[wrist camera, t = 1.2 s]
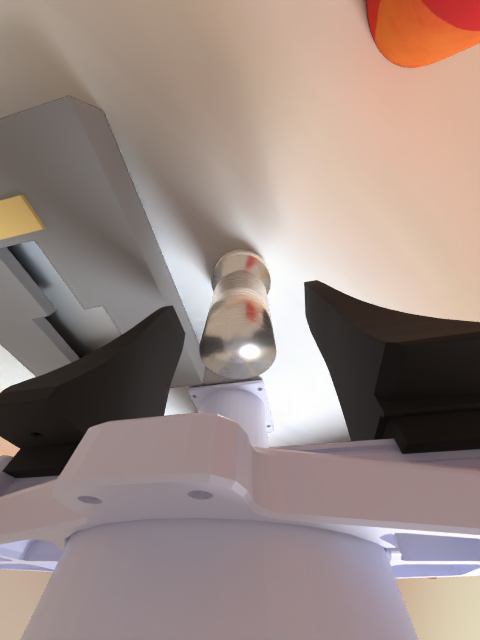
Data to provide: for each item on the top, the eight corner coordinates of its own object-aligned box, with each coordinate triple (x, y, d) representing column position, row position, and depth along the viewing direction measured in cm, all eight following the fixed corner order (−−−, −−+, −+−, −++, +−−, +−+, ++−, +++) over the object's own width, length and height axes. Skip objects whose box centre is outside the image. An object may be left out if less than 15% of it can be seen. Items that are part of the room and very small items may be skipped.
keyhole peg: (272, 296, 16) (289, 379, 10) (221, 304, 17) (205, 389, 10) (264, 243, 14) (281, 304, 8) (206, 255, 15) (174, 322, 8)
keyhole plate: (206, 362, 21) (202, 386, 18) (79, 379, 22) (61, 402, 20) (103, 110, 11) (65, 94, 8) (-110, 178, 13) (-187, 179, 10)
